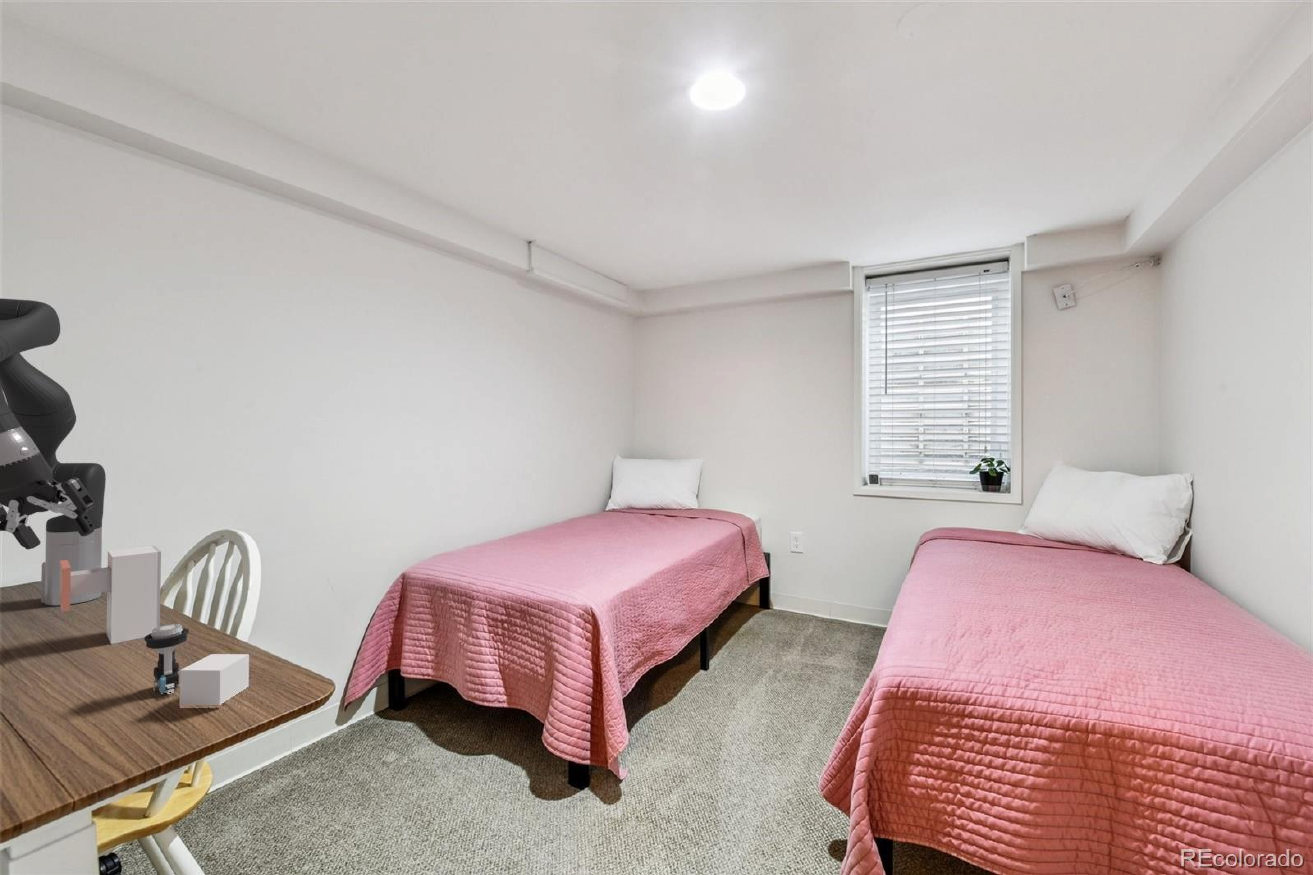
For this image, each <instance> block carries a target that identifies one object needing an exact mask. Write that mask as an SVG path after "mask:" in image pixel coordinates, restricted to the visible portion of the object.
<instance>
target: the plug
mask: <svg viewBox="0 0 1313 875" xmlns="http://www.w3.org/2000/svg"><path fill="white" fill-rule="evenodd" d="M107 591H111V568H110V567H108V566H107V567H106V566H105V567H101V568H98V569H90V570H82V571H74V572H71V567H70V565H69V562H68V560H61V561H60V591H59V602H60V605H59V606H60V610H61V612H62V613H64V612H70V611H71V604H70V597H73V596H80V595H87V594H93V593H100V592H101V593H107Z"/></svg>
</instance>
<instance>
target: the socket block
mask: <svg viewBox="0 0 1313 875" xmlns="http://www.w3.org/2000/svg"><path fill="white" fill-rule="evenodd" d="M161 565H162V551H161V550H160V549H159V548H158V547H157V546H155V545H149V546H139V547H131V548H122V549H121V548H120V549H111V550H107V567H110V568H111V591H107V592H106V636H107V639H108V640H109V643H110V644H111V645H114V644H119V643H124V642H129V641H133V640H139V639H144V638H145V636H147V635H149V634H151V633H152V630H153V629H154V628H156V627H159V626H161V583H162V582H161V577H162V576H161V574H162V573H161V571H162V570H161V569H162V568H161V567H162V566H161Z"/></svg>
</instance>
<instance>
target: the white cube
mask: <svg viewBox="0 0 1313 875" xmlns="http://www.w3.org/2000/svg"><path fill="white" fill-rule="evenodd" d="M249 670H250V654H247V653H245V654H244V653H243V654H242V653H240V654H239V653H234V654H233V653H211V654H209V655H207V656H205V657H203V658H201V659H199V660H197V661H196V662H193V663H191V664H190V665H188V666H186V667H184V668H182V669H179V705H178V706H185V705H187V706H193V705H205V706H206V705H221V704H222V703H224V702H225V701H226V700H229V699H230V698H231V697H233V696H235V695H236V694H238V693H239V692H241V691H243V690H244V689H246V688H247V687H249V686H250V682H249V681H250V680H249V679H250V677H249V675H250V672H249Z"/></svg>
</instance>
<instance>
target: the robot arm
mask: <svg viewBox="0 0 1313 875" xmlns="http://www.w3.org/2000/svg"><path fill="white" fill-rule="evenodd" d="M60 335H61V323H60V318H59V315H58V312H57V311H56V310H55V308H54V307H52V306H51V305H50V304H48V303H46V302H43V301H37V300H30V299H19V298H18V299H17V298H14V299H13V298H0V532H8V533H11V534H12V535H13V537H14V538H15V539H16V541H17V542H18V544H19V545H20V546H21V547H22V548H24V549H25V550H32V549H34V548H35V549H36V547H38V546H40V545H41V540H40V539H39V537H38V536H37V534H36V533H35V531H34V530H33V528H32V527H31V525H27V523H28V520H29V516H32V515H34V514H36V513H45V512H46V513H47V512H48V511H50V512H53V513H55V514H61V515H57V516H54V517H51V518H48V520H46V523H45V561H44V562H42V563H41V580H40V581H41V582H40V584H41V585H40V586H41V587H40V591H41V593H40V597H41V598H40V602H41V604H44V605H46V606H60V602H59V591H60V561H61V560H68V562H69V565H70V567H71V572H74V571H82V570H90V569H98V568H102V554H103V553H102V548H103V547H102V546H103V545H102V543H103V540H102V538H103V535H102V533H103V518H104V504H105V502H104V501H105V491H106V479H107V478H106V472H105V468H104V467H103V466H102V465H101V463H97V462H60V461H59V460H58V458H57V454H56V453H57V450H58V449H59V447H60V445H61V444H62V443H63V442H64V440H65V439H66V438H67V437H68V435H69V434H70V433H71V432H72V430H73V428H74V427H75V425H76V422H77V415H76V412H75V408H74V405H73V401H72V399H71V396H70V394H69V392H68V391H67V390H66V389H65V388H64V387H63V386H62V385H61V384H59V383H58V382H56V381H55V380H54V379H52V378H51V377H49V376H48V374H45V373H44V372H42V371H41V370H39V369H38V368H36V367H35V366H34V365H32V364H31V363H30V362H29V361H28V360H26V359H25V357H24V356H23V355H22V354H21V353H23V352H26V351H29V350H33V349H36V348H40V347H46V346H51V345H53V344H54V343H56V342H57V341H58V340H59V337H60ZM5 507H6V508H8V511H6V509H5ZM101 595H102V592H100V593H93V594H87V595H80V596H73V597H70V605H73V604H79V603H80V604H81V603H84V602H90V601H93V600H96V599H98V598H101Z"/></svg>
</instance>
